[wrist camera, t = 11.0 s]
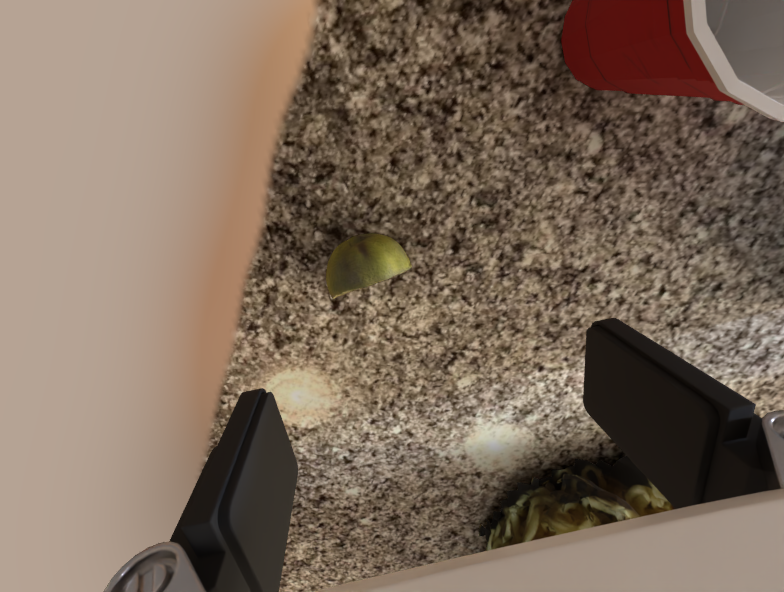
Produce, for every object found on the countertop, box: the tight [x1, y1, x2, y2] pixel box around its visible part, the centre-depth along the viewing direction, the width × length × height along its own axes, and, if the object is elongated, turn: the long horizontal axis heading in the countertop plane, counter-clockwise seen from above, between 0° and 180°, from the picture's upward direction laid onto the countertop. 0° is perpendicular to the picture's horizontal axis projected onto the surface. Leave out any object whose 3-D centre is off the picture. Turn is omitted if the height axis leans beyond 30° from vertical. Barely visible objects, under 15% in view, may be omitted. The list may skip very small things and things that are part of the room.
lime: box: [326, 233, 412, 299], centre depth 21 cm, size 4×5×5 cm
